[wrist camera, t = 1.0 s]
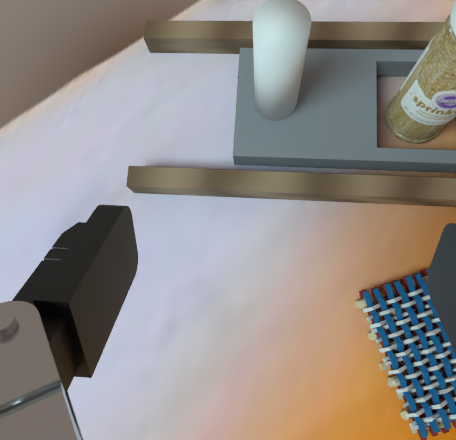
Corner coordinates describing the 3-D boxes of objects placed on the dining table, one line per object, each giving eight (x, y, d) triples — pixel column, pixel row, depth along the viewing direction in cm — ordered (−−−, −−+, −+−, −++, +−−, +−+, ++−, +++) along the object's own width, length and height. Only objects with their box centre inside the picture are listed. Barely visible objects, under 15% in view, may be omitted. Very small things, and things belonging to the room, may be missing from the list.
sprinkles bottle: (390, 149, 32) (480, 43, 19) (379, 96, 33) (456, -39, 20) (449, 140, 32) (581, 27, 19) (436, 87, 33) (553, -55, 20)
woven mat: (407, 440, 29) (418, 451, 27) (348, 294, 31) (354, 294, 29) (549, 390, 29) (571, 397, 27) (479, 248, 31) (494, 244, 29)
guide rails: (514, 39, 33) (529, 22, 31) (527, 209, 31) (545, 203, 29) (151, 36, 36) (145, 20, 34) (134, 192, 33) (126, 185, 31)
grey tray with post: (518, 66, 32) (646, -51, 22) (527, 175, 31) (670, 106, 20) (241, 62, 34) (232, -47, 24) (234, 164, 33) (222, 96, 22)
